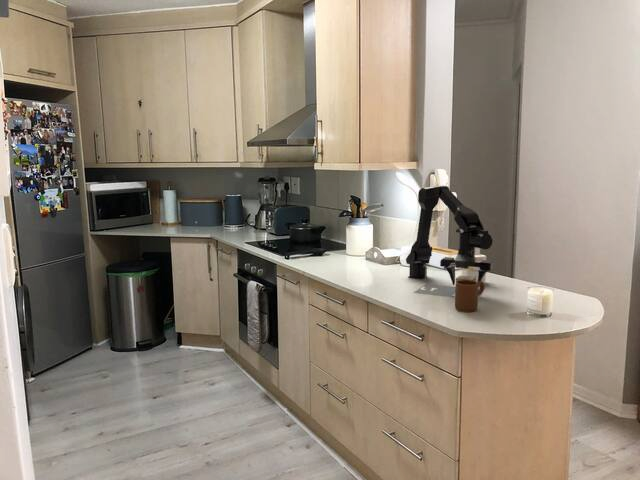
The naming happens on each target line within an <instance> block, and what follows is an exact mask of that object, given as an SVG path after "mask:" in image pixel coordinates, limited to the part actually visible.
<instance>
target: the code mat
mask: <svg viewBox="0 0 640 480" xmlns="http://www.w3.org/2000/svg"><path fill="white" fill-rule="evenodd" d="M478 290H479V288H478ZM412 293H413V294H419V295H430V296H438V297H448V298H454V299H455V286H454V285H451V286H450V285H443V284H432V283H426V284H424V285H423V286H421V287H420V288H418V289H416V290H415V291H413V292H412Z"/></svg>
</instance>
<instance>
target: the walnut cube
mask: <svg viewBox="0 0 640 480" xmlns="http://www.w3.org/2000/svg"><path fill="white" fill-rule="evenodd" d="M460 280H470V281H475V282H476V277H472V276H462V274H460V275H459V276H457V277H455V283H456V282H457V281H460Z"/></svg>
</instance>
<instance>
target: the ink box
mask: <svg viewBox="0 0 640 480" xmlns="http://www.w3.org/2000/svg"><path fill="white" fill-rule="evenodd" d="M482 260H487V255H484V254H481V249H480V248H476V247H475V262H481V261H482ZM479 270H480V268H479V267H470V266H469V267H468V268H467V269H464V268H461V275H462V276H472V277H476V282H477V281H478V275H479V273H478V271H479ZM486 276H487V273H485V275H484V276H483V279H482V282H483V283H484V284H486Z"/></svg>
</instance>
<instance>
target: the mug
mask: <svg viewBox="0 0 640 480" xmlns="http://www.w3.org/2000/svg"><path fill="white" fill-rule="evenodd" d="M478 286H479V288H478ZM454 287H455V298H454V308H455V310H457V311H459V312H464V313H474V312H476V311H477V310H478V307H479V296H481V295H482V294H483V293H484V292H485V287H486V285H485V283H483V282H482V281H477V282H475V281H470V280H460V281H457V282H456V281H455V285H454ZM478 289H479V290H478Z"/></svg>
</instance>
